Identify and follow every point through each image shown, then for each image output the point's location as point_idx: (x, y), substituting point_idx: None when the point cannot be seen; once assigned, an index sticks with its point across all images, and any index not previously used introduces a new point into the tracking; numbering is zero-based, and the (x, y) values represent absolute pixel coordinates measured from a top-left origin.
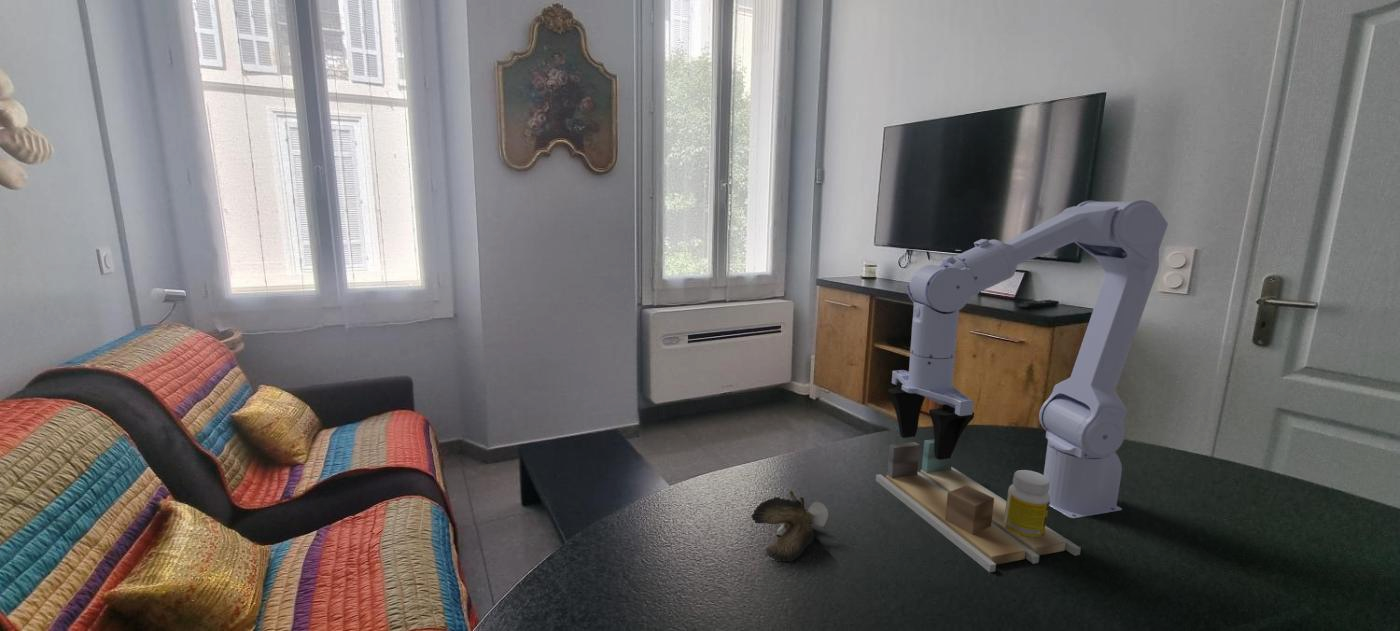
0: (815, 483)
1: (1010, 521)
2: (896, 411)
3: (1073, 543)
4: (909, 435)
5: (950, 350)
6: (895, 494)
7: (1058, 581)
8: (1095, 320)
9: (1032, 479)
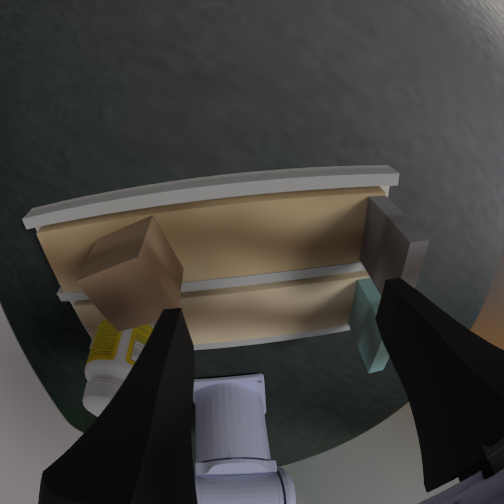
0: (425, 35)
1: None
2: (472, 338)
3: None
4: (382, 305)
5: None
6: (316, 171)
7: (42, 291)
8: None
9: (100, 407)
